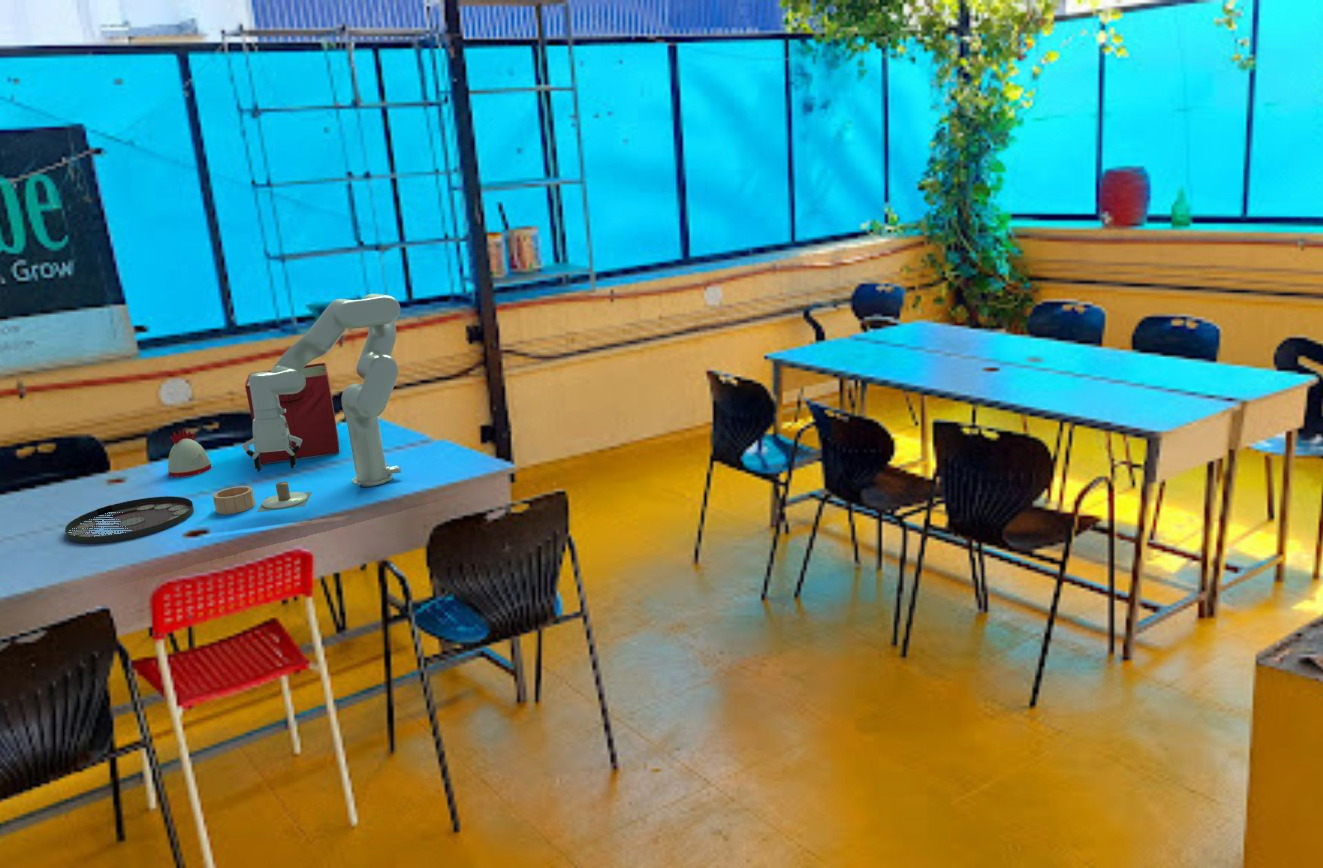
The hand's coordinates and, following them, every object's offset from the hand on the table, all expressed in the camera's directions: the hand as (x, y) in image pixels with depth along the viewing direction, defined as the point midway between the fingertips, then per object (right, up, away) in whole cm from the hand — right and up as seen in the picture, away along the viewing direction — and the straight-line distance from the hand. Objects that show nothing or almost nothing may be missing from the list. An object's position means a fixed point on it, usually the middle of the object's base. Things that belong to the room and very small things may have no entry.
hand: (276, 469), depth 331 cm
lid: (+2, -10, +3) cm, 11 cm away
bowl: (-13, -13, +2) cm, 18 cm away
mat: (+2, -11, +3) cm, 12 cm away
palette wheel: (-44, -17, 0) cm, 47 cm away
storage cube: (-14, +4, +65) cm, 67 cm away
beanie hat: (-48, -3, +52) cm, 71 cm away
